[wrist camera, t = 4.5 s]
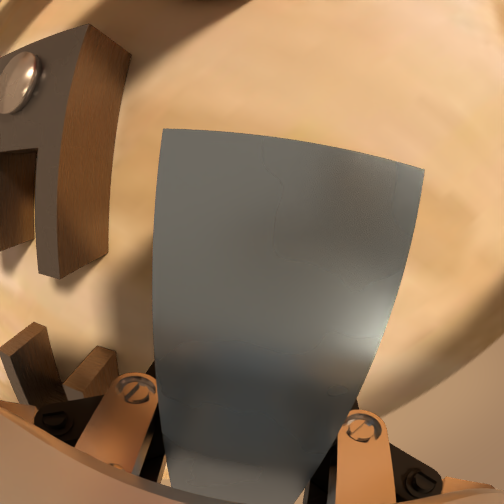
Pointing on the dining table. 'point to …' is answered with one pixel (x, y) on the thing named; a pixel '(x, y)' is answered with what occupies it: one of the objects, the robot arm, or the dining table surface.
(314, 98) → the dining table surface
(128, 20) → the dining table surface
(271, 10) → the dining table surface
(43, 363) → the bracket
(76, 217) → the bracket
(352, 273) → the link bar
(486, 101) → the dining table surface
